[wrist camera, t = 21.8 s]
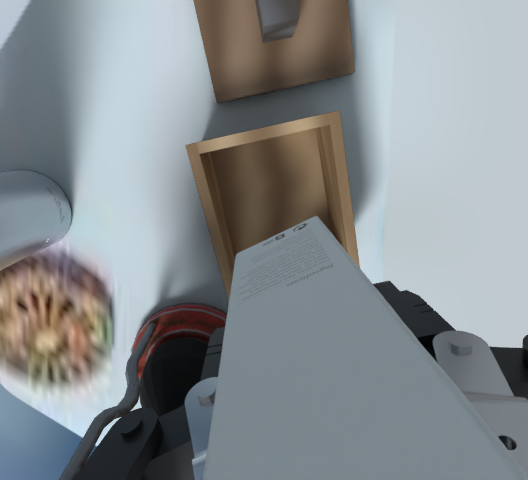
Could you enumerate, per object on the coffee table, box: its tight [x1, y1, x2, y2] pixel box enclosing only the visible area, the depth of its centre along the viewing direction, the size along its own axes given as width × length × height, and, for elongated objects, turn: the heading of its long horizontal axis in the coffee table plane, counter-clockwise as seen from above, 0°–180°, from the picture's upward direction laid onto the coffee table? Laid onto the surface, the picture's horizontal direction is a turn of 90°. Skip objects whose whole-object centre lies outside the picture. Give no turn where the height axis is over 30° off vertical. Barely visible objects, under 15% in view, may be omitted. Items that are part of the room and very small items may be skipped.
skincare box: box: [203, 216, 528, 480], centre depth 9 cm, size 6×4×12 cm
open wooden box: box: [185, 110, 360, 301], centre depth 34 cm, size 14×16×8 cm
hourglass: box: [59, 303, 227, 480], centre depth 32 cm, size 16×16×25 cm
